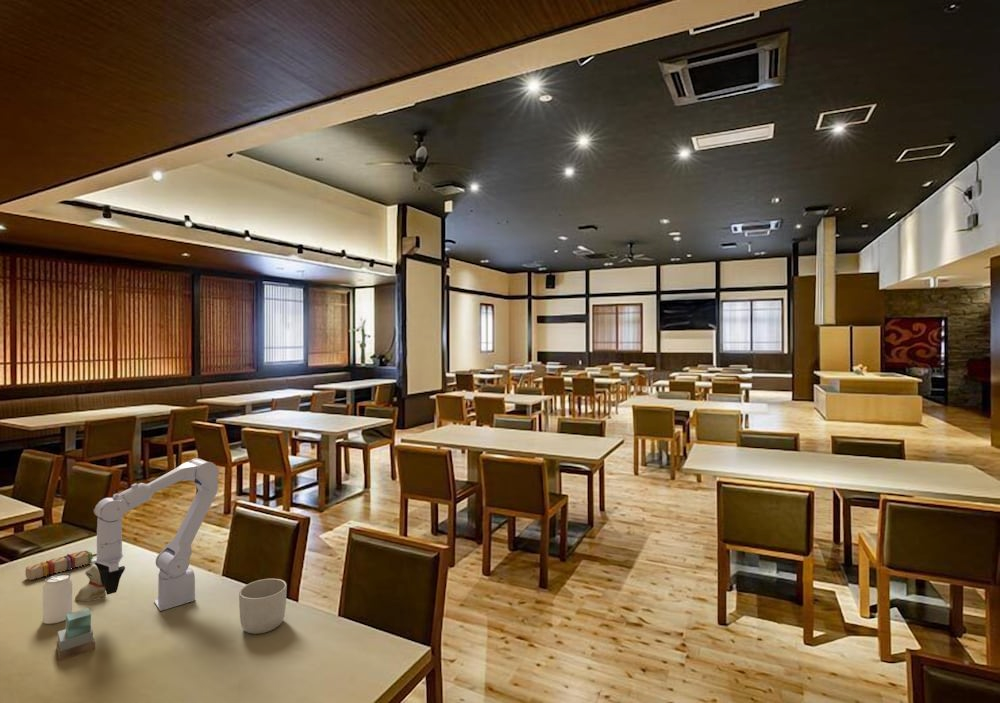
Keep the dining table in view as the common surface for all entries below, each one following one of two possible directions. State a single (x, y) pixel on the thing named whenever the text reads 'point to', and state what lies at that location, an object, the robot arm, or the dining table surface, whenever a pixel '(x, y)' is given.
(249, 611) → the planter
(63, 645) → the tower top
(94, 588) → the chocolate bunny
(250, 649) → the dining table surface
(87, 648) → the tower base
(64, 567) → the skewer
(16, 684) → the dining table surface
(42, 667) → the dining table surface
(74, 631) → the teal block
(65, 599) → the can
